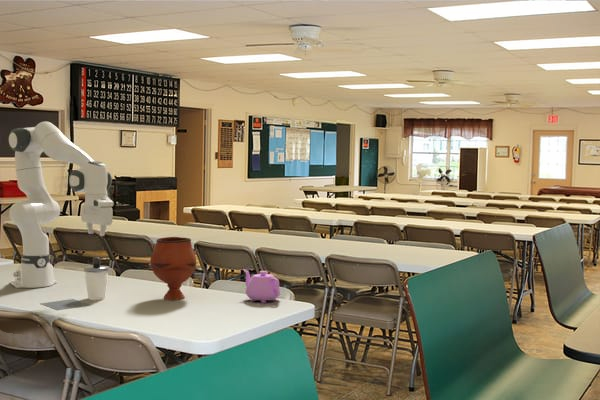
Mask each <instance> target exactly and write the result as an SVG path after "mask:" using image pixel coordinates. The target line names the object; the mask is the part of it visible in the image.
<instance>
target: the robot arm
mask: <svg viewBox="0 0 600 400" xmlns="http://www.w3.org/2000/svg"><path fill="white" fill-rule="evenodd" d="M7 142H8V144H9V147H10V148H11V150H12V151H14V165H15V166H14V167H15V174H16V180H17V187H18V189H19V190H20V191H21V192H23V193H24V195H26V197H27V200H20V201H19V202H15V203H13V204H12V205H11V207H10V208H9V211H8V212H9V218H10V220H11V222H13V223H14V224H15V225H16V226H17V228H18V230H19V232H20V234H21V238H22V255H21V260H20V263H21V264H19V266H18V267H17V269H16V270H15V271H13V274H12V275H13V277H14V278H15V279H12V280H10V282H9V283H10V284H11V285H12V286H13V287H14V288H16V289H17V288H18V289H19V288H29V289H32V288H33V289H34V288H45V287H51V286H53V285H55V284H57V283H58V281H57V280H56V279H55V276H54V266H53V265H52V264H51V263H50V262H51V254H50V242H49V241H50V240H49V236H48V234H46V233H44V232H43V230H42V227H41V224H46V223H51V222H53V221H55V220H57V219H58V218H59V217H60V215H61V207H60V204H59V203H58V202H57V201H56V200H54V199H53V197H52V196H51V194H50V193H49V191H48V188H47V187H46V183H45V180H44V174H43V169H42V168H43V167H42V163H41V155H42V153H43V154H45V155H46V156H47V157H48V158H50V159H51V160H54V161H58V162H64V163H70V164H74V165H76V166H78V167H80V168H77V169H73V170H72V171H71V172H70V174H69V177H68V184H69V187H70V190H72V191H73V192H77V193H84V202H83V205H82V207H81V215H80V216H81V221H82V222H83V223H86V228H87V232H88V234H90V235H93V234H94V231H95V229H94V227H93V225H99V228H100V229H99V231H98V235H99V237H104V236H105V235H106V229H107V226H111V225H112V223H113V208H112V207H114V201H113V200H112V199H111V198H110V197H109V196H108V190H109V189H110V188H111V185H112V182H113V177H112V175H111V173H110V171H109V170H108V169H107V168H108V167H107V165H106V164H105V163H104V162H101V161H95V160H94V159H93V158H92V157H91V156H90V155H89V154H88V153H87V152H86V151H85V150H83V149H82V148H80V147H79V146H77V145H76V144H75V143H73V142H72V141H71V140H69V138H68V137H66V135H65V134H64V133H63V132H62V131H61V130H60V129H59V128H58V127H57V126H56V125H54V124H53V123H52V122H50V121H41V122H39V123H38V124H36V126H32V127H18V128H17V127H16V128H14V129H12V130H11V131H9V135H8V141H7Z"/></svg>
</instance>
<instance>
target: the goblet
mask: <svg viewBox="0 0 600 400" xmlns="http://www.w3.org/2000/svg"><path fill="white" fill-rule="evenodd" d="M149 260H150V261H149V263H150V264H149V265H150V268H151V270H152V273H153V274H154V275H155V277H156V278H158V279H159V280H160V281H161V282H163V283H165V284H167V286H166V287H168V290H167V292H166V293H165V294H164V296H163V299H164V300H166V301H167V300H169V301H176V300H183V299H185V295H184V293H183V292H182V291H181V287H182V284H184V283H185V282H186V281H188V280H189V279H190V278H191V276H192V275H193V274H194V272H195V271H196V267H197V257H196V254H195V250H194V248H193V245H192V239H191V238H188V237H180V236H167V237H160V238H157V239H156V243H155V245H154V247H153V250H152V252H151V256H150V259H149Z"/></svg>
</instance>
